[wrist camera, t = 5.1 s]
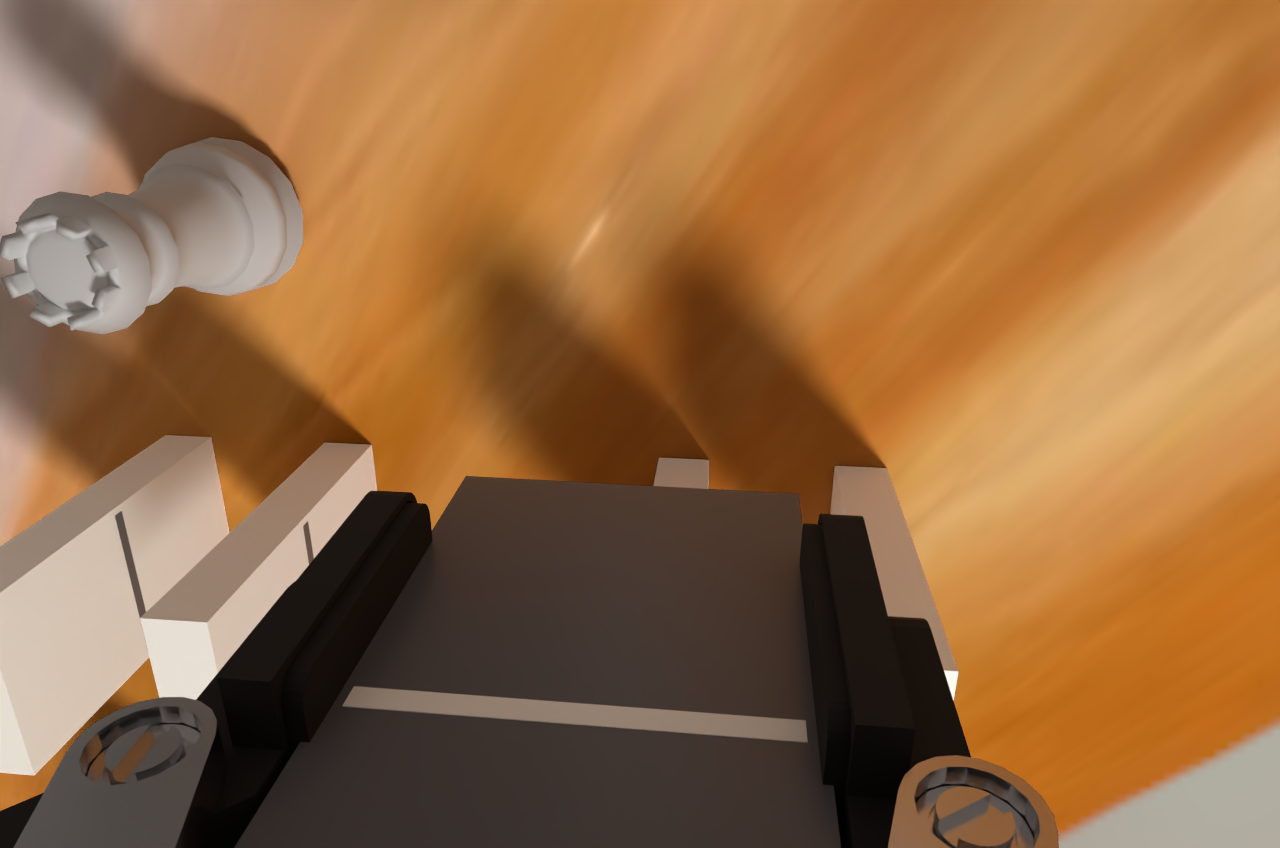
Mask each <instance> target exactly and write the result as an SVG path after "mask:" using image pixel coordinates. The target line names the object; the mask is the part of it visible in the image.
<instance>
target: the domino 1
mask: <svg viewBox="0 0 1280 848" xmlns="http://www.w3.org/2000/svg"><path fill="white" fill-rule="evenodd" d="M229 533H230V532H229V527H228V522H227V517H226V511H225V506H224V501H223V496H222V491H221V485H220V480H219V475H218V470H217V464H216V459H215V454H214V449H213V444H212V438H211V437H198V436H176V435H165V436H163V437H162V438H160V439H159V440H157V441H156V442H155V443H153V444H152V445H150V446H149V447H147V448H146V449H144V450H143V451H141V452H140V453H138V454H137V455H135V456H134V457H132V458H131V459H129V460H128V461H126V462H125V463H123V464H122V465H120V466H119V467H118V468H116V469H115V470H113V471H112V472H110V473H109V474H107V475H106V476H104V477H103V478H101V479H100V480H98V481H97V482H95V483H94V484H92V485H91V486H89V487H88V488H86V489H85V490H83V491H82V492H80V493H79V494H78V495H76V496H75V497H73V498H72V499H70V500H69V501H67V502H66V503H64V504H63V505H61V506H60V507H58V508H57V509H55V510H54V511H52V512H51V513H49V514H48V515H46V516H45V517H43V518H42V519H41V520H39V521H38V522H36V523H35V524H33V525H32V526H30V527H29V528H27V529H26V530H24V531H23V532H21V533H20V534H18V535H17V536H15V537H14V538H12V539H11V540H9V541H8V542H6V543H5V544H4V545H2V546H1V547H0V773H11V774H23V775H35V774H36V773H37V772H38V771H39V770H40V769H41V768H42V767H43V766H44V765H45V764H46V763H47V762H48V761H49V760H50V759H51V758H52V757H53V756H54V755H55V754H56V753H57V752H58V751H59V750H60V749H61V748H62V747H63V746H64V745H65V743H66V742H67V741H68V740H69V739H70V738H71V737H72V736H73V735H74V734H75V733H76V732H77V731H78V730H79V729H80V728H81V727H82V726H83V725H84V724H85V723H86V722H87V721H88V720H89V719H90V718H91V717H92V716H93V715H94V714H95V712H96V711H97V710H98V709H99V708H100V707H101V706H102V705H103V704H104V703H105V702H106V701H107V700H108V699H109V698H110V697H111V696H112V695H113V694H114V693H115V692H116V691H117V690H118V689H119V688H120V687H121V686H122V685H123V684H124V683H125V682H126V680H127V679H128V678H129V677H130V676H131V675H132V674H133V673H134V672H135V671H136V670H137V669H138V668H139V667H140V666H141V665H142V664H143V663H144V662H145V661H146V660H147V659H148V658H149V653H148V649H147V645H146V641H145V637H144V633H143V628H142V624H141V620H140V618H141V617H142V616H143V615H144V614H145V613H146V612H147V611H148V610H149V609H150V608H151V607H152V606H153V605H154V604H155V603H156V602H157V601H159V600H160V599H161V598H162V597H163V596H164V595H165V594H166V593H167V592H168V591H169V590H170V589H171V588H172V587H173V586H174V585H175V584H176V583H177V582H178V581H180V580H181V579H182V578H183V577H184V576H185V575H186V574H187V573H188V572H189V571H190V570H191V569H192V568H193V567H194V566H195V565H196V564H197V563H198V562H199V561H201V560H202V559H203V558H204V557H205V556H206V555H207V554H208V553H209V552H210V551H211V550H212V549H213V548H214V547H215V546H216V545H217V544H218V543H219V542H221V541H222V540H223V539H224V538H225V537H226V536H227V535H228V534H229Z"/></svg>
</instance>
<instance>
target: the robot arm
mask: <svg viewBox="0 0 1280 848" xmlns="http://www.w3.org/2000/svg"><path fill="white" fill-rule="evenodd" d="M431 543H432V531H431V521H430V513H429V509H428V506H427V505H426V504H420V503H417V501H416V498H415V496H414V495H413V494H412V493H409V492H389V491H370V492H368V493H367V494H366V495H365V496H364V498H363V499H362V500H361V501H360V503H359V504H358V505H357V506H356V508H355V509H354V510H353V511H352V513H351V514H350V515H349V516H348V517H347V519H346V520H345V521H344V522H343V524H342V525H341V526H340V527H339V529H338V530H337V531H336V532H335V533H334V535H333V536H332V537H331V538H330V540H329V541H328V542H327V543H326V545H325V546H324V547H323V548H322V549H321V551H320V552H319V553H318V554H317V556H316V557H315V558H314V559H313V561H312V562H311V563H310V564H309V565H308V567H307V568H306V569H305V570H304V572H303V573H302V574H301V575H300V577H299V578H298V579H297V580H296V581H295V582H293V583H292V584H291V585H290V586H289V587H288V588H287V589H286V590H285V591H284V593H283V594H282V595H281V596H280V598H279V599H278V600H277V601H276V602H275V604H274V605H273V606H272V607H271V609H270V610H269V611H268V612H267V613H266V615H265V616H264V617H263V618H262V620H261V621H260V622H259V623H258V624H257V626H256V627H255V628H254V629H253V631H252V632H251V633H250V634H249V635H248V637H247V638H246V639H245V640H244V642H243V643H242V644H241V645H240V647H239V648H238V649H237V650H236V651H235V653H234V654H233V655H232V656H231V658H230V659H229V660H228V661H227V662H226V664H225V665H224V666H223V667H222V669H221V670H220V671H219V672H218V673H217V675H216V676H215V677H214V678H213V680H212V681H211V682H210V683H209V684H208V686H207V687H206V688H205V689H204V691H203V692H202V693H201V694H200V695H199V697H198V698H197V699H196V700H194V699H189V698H185V697H161V698H156V699H151V700H146V701H141V702H138V703H135V704H132V705H130V706H127V707H124V708H122V709H119V710H117V711H115V712H113V713H111V714H109V715H108V716H106V717H104V718H102V719H100V720H99V721H97V722H95V723H94V724H93V725H92V726H90V727H89V728H88V729H87V730H86V731H84V732H83V733H82V734H81V735H79V736H78V738H77V739H76V740H75V742H74V743H73V744H72V745H71V747H70V748H69V749H68V751H67V752H66V754H65V756H64V757H63V759H62V761H61V763H60V765H59V766H58V768H57V770H56V772H55V774H54V775H53V777H52V779H51V781H50V783H49V784H48V786H47V788H46V790H45V792H44V793H42V794H40V795H38V796H35V797H33V798H30V799H28V800H26V801H23V802H21V803H18V804H16V805H14V806H11V807H9V808H7V809H4V810H2V811H0V848H234V847H235V846H236V844H237V843H238V841H239V839H240V838H241V836H242V835H243V833H244V831H245V830H246V828H247V827H248V825H249V823H250V822H251V820H252V818H253V817H254V815H255V814H256V812H257V810H258V809H259V807H260V806H261V804H262V802H263V801H264V799H265V798H266V796H267V794H268V793H269V791H270V790H271V788H272V786H273V785H274V783H275V782H276V780H277V778H278V777H279V775H280V774H281V772H282V770H283V769H284V767H285V766H286V764H287V762H288V761H289V759H290V758H291V756H292V754H293V753H294V751H295V750H296V748H297V746H298V745H299V743H300V742H309V743H310V741H311V739H312V738H313V736H314V735H315V733H316V731H317V730H318V728H319V726H320V725H321V723H322V721H323V720H324V718H325V716H326V715H327V713H328V712H329V710H330V708H331V707H332V705H333V703H334V702H335V700H336V698H337V697H338V695H339V694H340V692H341V690H342V689H343V687H344V685H345V684H346V682H347V680H348V679H349V677H350V675H351V674H352V672H353V671H354V669H355V667H356V666H357V664H358V662H359V661H360V659H361V657H362V656H363V654H364V652H365V651H366V649H367V648H368V646H369V644H370V643H371V641H372V639H373V638H374V636H375V634H376V633H377V631H378V630H379V628H380V626H381V625H382V623H383V621H384V620H385V618H386V616H387V615H388V613H389V611H390V610H391V608H392V607H393V605H394V603H395V602H396V600H397V598H398V597H399V595H400V593H401V592H402V590H403V588H404V587H405V585H406V584H407V582H408V580H409V579H410V577H411V575H412V574H413V572H414V570H415V569H416V567H417V566H418V564H419V562H420V561H421V559H422V557H423V556H424V554H425V552H426V551H427V549H428V547H429V546H430V544H431ZM799 563H800V573H801V582H802V592H803V602H804V611H805V621H806V630H807V640H808V649H809V659H810V668H811V678H812V687H813V697H814V707H815V716H816V726H817V735H818V745H819V754H820V764H821V773H822V783H823V785H834V792H835V801H836V809H837V817H838V826H839V834H840V842H841V848H1059V844H1058V830H1057V826H1056V822H1055V818H1054V814H1053V813H1052V811H1051V810H1050V808H1049V807H1048V805H1047V803H1046V802H1045V800H1044V799H1043V797H1042V796H1041V795H1040V794H1039V793H1038V792H1037V791H1036V790H1035V789H1033V788H1032V787H1031V786H1030V785H1029V784H1028V783H1027V782H1026V781H1025V780H1023V779H1022V778H1020V777H1018V776H1017V775H1015V774H1013V773H1012V772H1010V771H1008V770H1007V769H1005V768H1003V767H1001V766H998V765H995V764H993V763H990V762H987V761H984V760H982V759H977V758H971V756H970V753H969V749H968V746H967V743H966V740H965V737H964V733H963V730H962V727H961V724H960V721H959V717H958V714H957V711H956V708H955V705H954V701H953V698H952V695H951V692H950V689H949V685H948V682H947V679H946V676H945V673H944V669H943V666H942V663H941V660H940V657H939V653H938V650H937V647H936V644H935V641H934V637H933V634H932V631H931V628H930V626H929V623H928V621H927V620H925V619H924V618H910V617H894V616H888V614H887V610H886V606H885V602H884V598H883V594H882V590H881V586H880V582H879V578H878V574H877V570H876V566H875V561H874V557H873V553H872V549H871V545H870V541H869V537H868V533H867V529H866V525H865V521H864V518H863V516H852V515H833V514H820V516H819V520H818V525H817V524H803V529H802V538H801V550H800V562H799Z"/></svg>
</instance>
